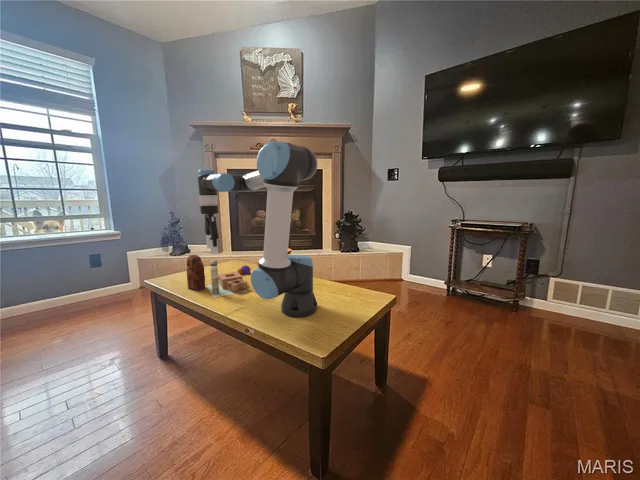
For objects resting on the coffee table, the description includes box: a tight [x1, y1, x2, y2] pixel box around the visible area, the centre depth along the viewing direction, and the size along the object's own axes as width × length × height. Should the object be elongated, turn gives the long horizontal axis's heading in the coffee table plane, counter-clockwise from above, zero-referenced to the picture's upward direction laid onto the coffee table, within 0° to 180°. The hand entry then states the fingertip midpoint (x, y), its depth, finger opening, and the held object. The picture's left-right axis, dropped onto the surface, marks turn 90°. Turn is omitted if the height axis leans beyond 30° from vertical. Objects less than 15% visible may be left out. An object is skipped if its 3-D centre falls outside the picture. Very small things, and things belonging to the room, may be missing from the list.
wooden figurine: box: [186, 254, 206, 292], centre depth 131 cm, size 12×6×18 cm, turn 56°
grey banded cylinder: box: [209, 259, 219, 295], centre depth 123 cm, size 3×3×16 cm
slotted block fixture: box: [206, 271, 248, 299], centre depth 131 cm, size 20×16×6 cm
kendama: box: [218, 264, 251, 281], centre depth 151 cm, size 6×6×20 cm
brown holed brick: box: [227, 279, 248, 294], centre depth 129 cm, size 7×7×4 cm
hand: (212, 250), depth 121 cm, fingers open, 13 cm apart
